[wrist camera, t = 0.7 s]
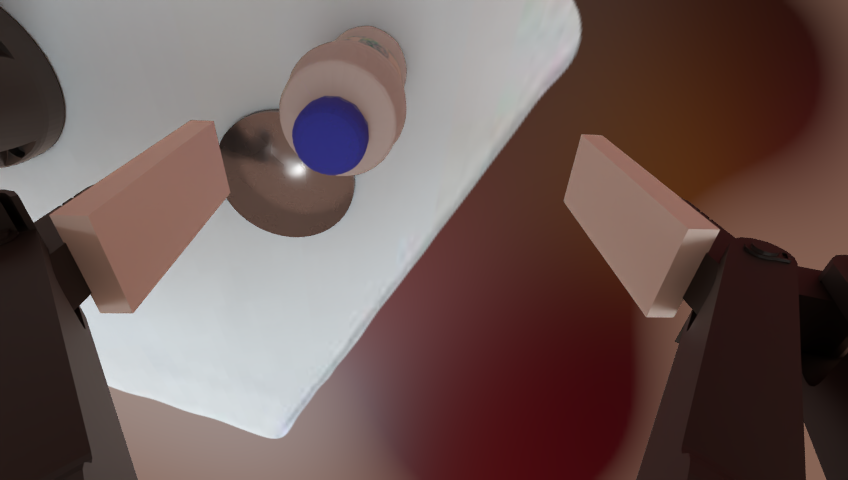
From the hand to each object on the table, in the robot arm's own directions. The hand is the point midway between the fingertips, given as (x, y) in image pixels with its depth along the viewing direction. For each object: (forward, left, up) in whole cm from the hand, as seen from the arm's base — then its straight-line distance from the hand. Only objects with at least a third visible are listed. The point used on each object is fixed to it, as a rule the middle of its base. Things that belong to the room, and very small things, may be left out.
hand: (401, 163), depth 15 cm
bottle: (-3, -1, -23) cm, 23 cm away
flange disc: (-9, -13, -23) cm, 28 cm away
